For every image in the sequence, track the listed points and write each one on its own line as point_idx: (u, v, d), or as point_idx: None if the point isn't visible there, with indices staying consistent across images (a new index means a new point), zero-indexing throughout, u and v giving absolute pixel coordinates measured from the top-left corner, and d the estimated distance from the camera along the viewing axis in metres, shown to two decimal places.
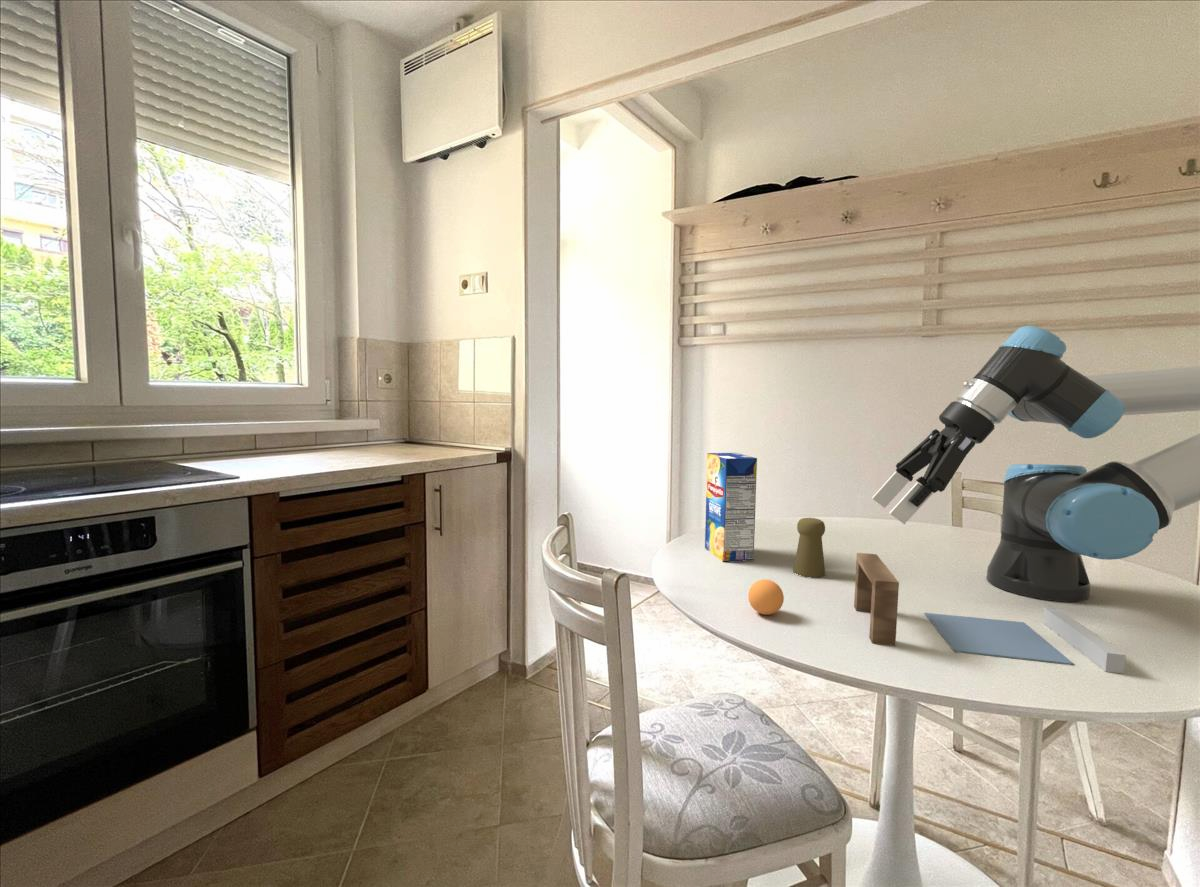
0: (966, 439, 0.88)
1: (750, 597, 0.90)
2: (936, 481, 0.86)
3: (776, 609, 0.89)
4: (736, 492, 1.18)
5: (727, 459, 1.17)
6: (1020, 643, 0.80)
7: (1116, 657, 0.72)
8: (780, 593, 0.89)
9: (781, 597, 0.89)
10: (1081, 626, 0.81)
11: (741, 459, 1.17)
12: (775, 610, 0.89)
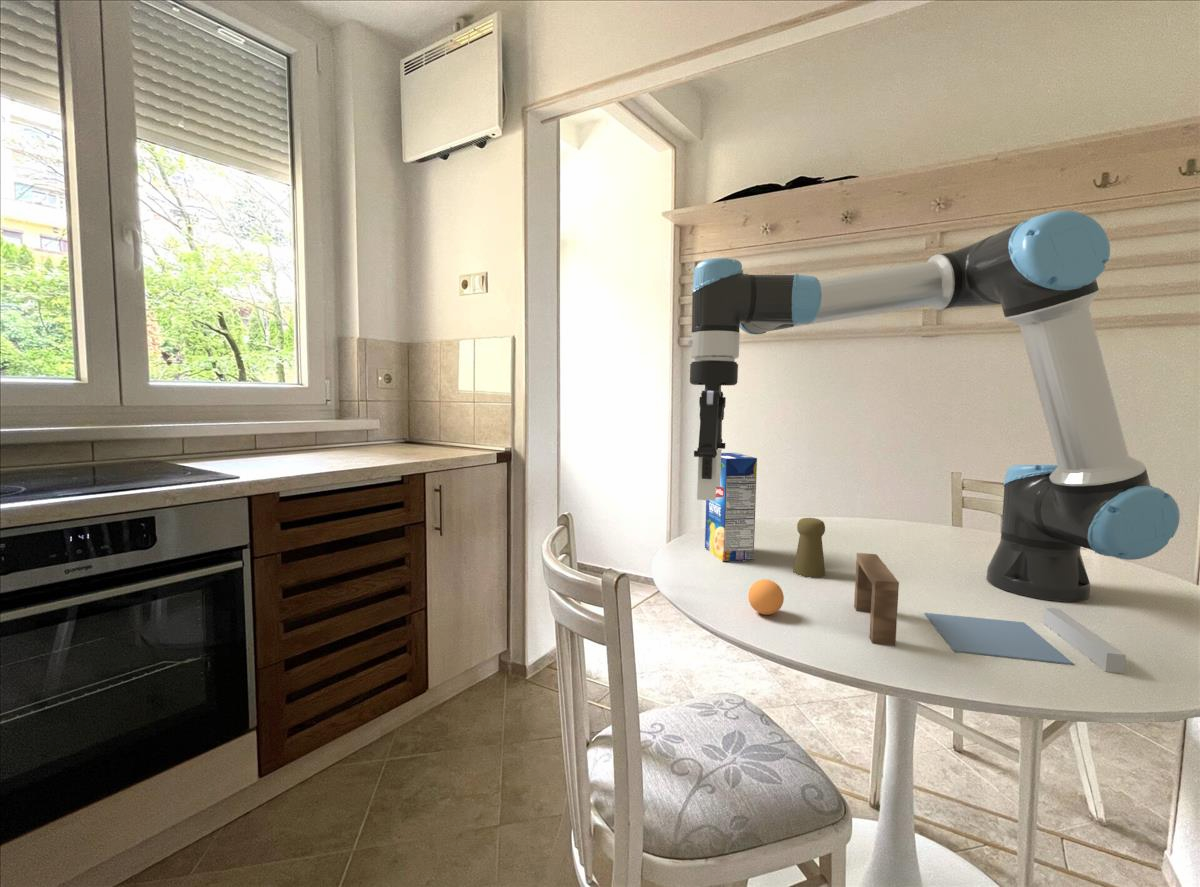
0: (708, 393, 0.84)
1: (750, 597, 0.90)
2: (703, 448, 0.82)
3: (776, 609, 0.89)
4: (736, 492, 1.18)
5: (727, 459, 1.17)
6: (1020, 643, 0.80)
7: (1116, 657, 0.72)
8: (780, 593, 0.89)
9: (781, 597, 0.89)
10: (1081, 626, 0.81)
11: (741, 459, 1.17)
12: (775, 610, 0.89)
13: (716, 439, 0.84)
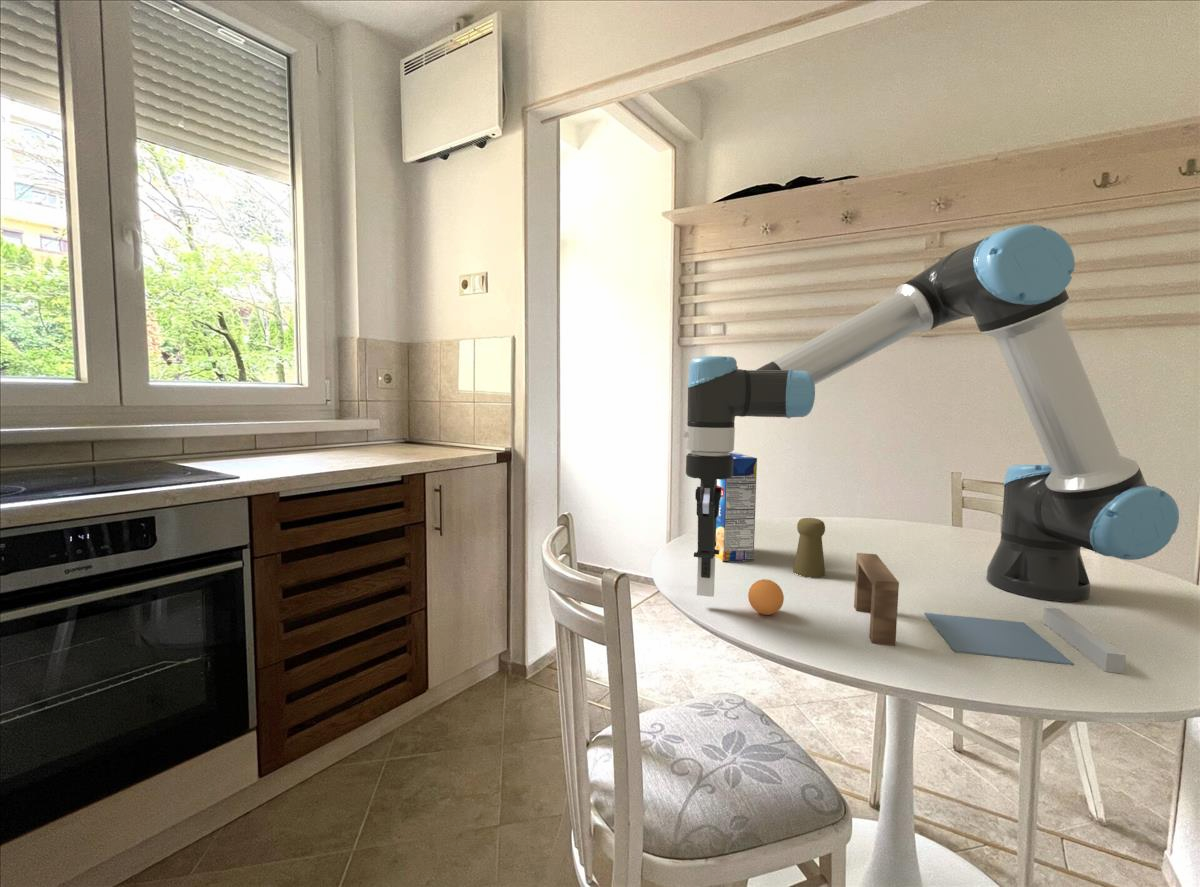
0: (703, 507, 0.86)
1: (750, 597, 0.90)
2: (702, 552, 0.89)
3: (776, 609, 0.89)
4: (736, 492, 1.18)
5: None
6: (1020, 643, 0.80)
7: (1116, 657, 0.72)
8: (780, 593, 0.89)
9: (781, 597, 0.89)
10: (1081, 626, 0.81)
11: (741, 459, 1.17)
12: (775, 610, 0.89)
13: None
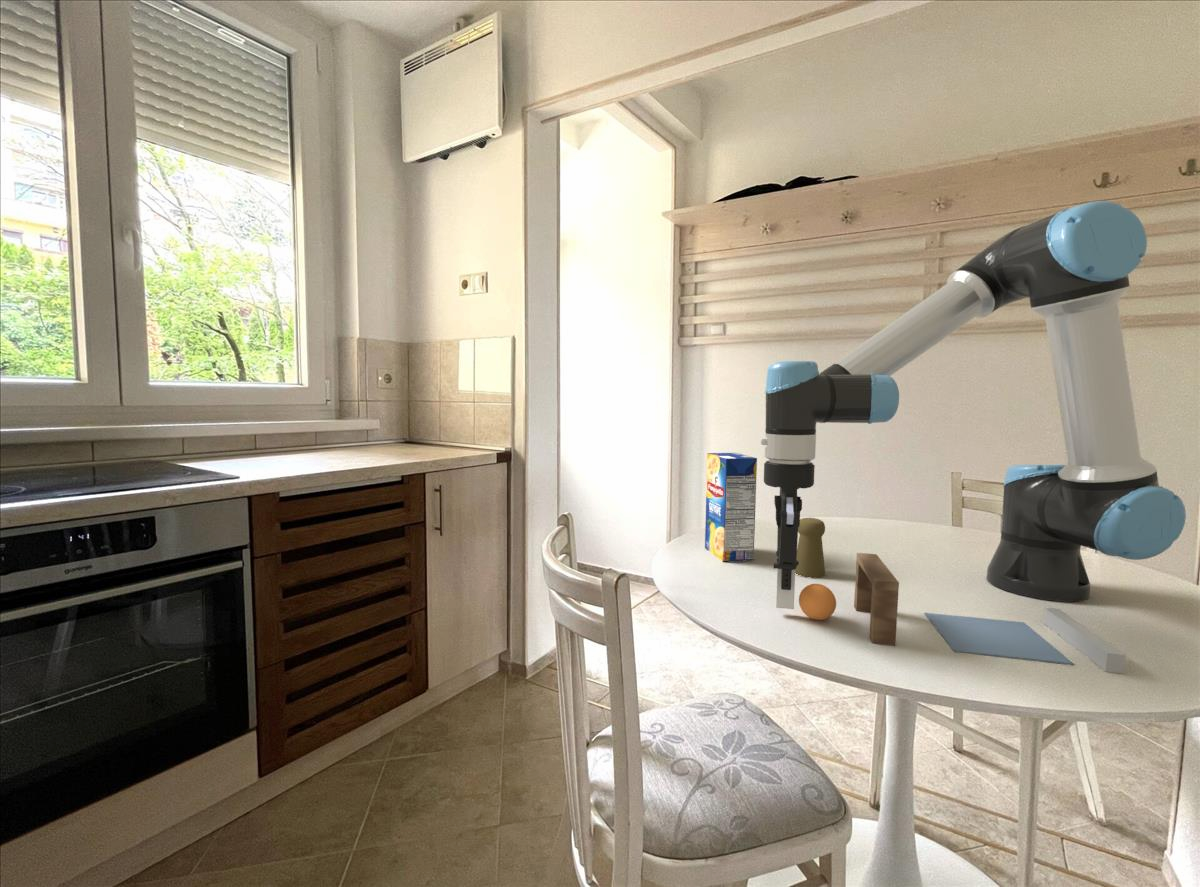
0: (788, 517, 0.83)
1: (831, 596, 0.87)
2: (784, 563, 0.86)
3: (805, 604, 0.88)
4: (736, 492, 1.18)
5: (727, 459, 1.17)
6: (1020, 643, 0.80)
7: (1116, 657, 0.72)
8: (812, 618, 0.88)
9: (808, 615, 0.88)
10: (1081, 626, 0.81)
11: (741, 459, 1.17)
12: (805, 603, 0.88)
13: None
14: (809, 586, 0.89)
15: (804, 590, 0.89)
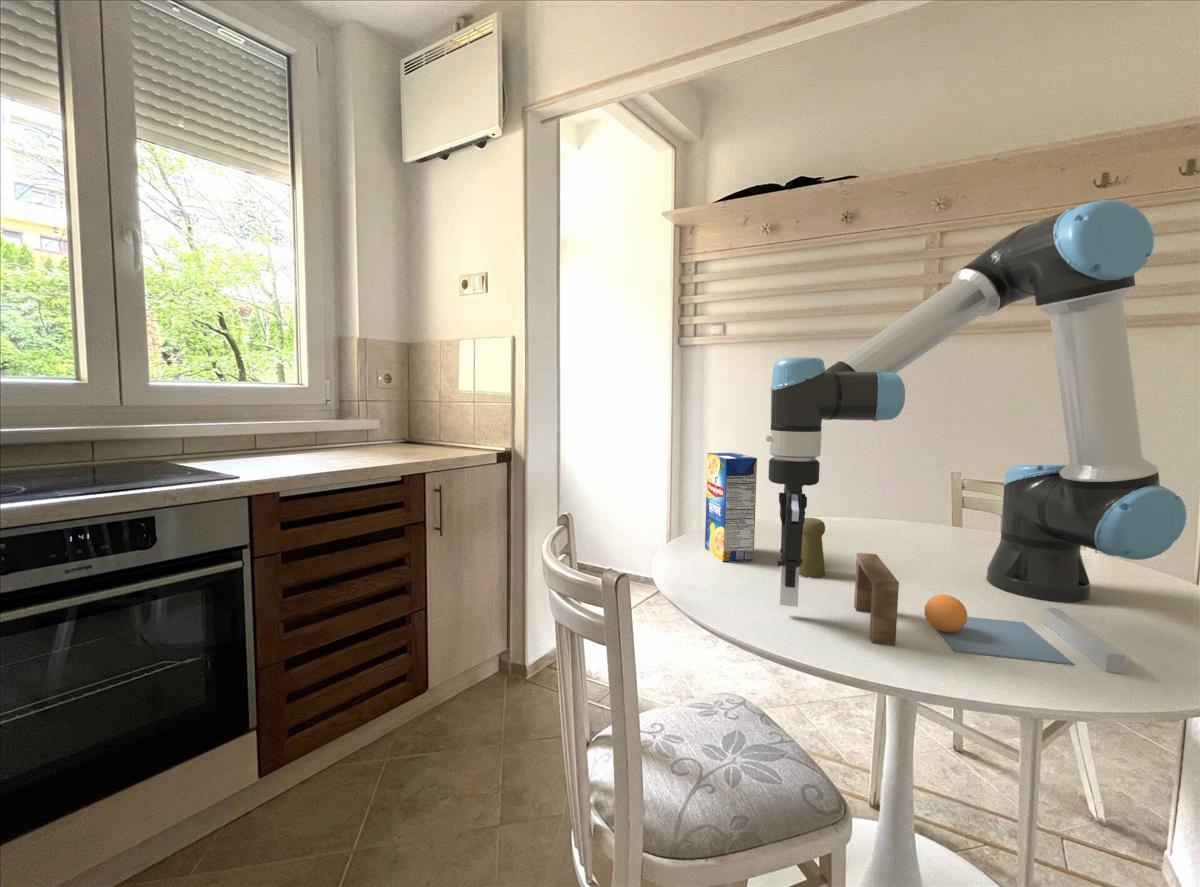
0: (793, 514, 0.83)
1: (966, 612, 0.83)
2: (789, 560, 0.86)
3: (935, 613, 0.83)
4: (736, 492, 1.18)
5: (727, 459, 1.17)
6: (1020, 643, 0.80)
7: (1116, 657, 0.72)
8: (936, 628, 0.84)
9: (933, 624, 0.84)
10: (1081, 626, 0.81)
11: (741, 459, 1.17)
12: (935, 611, 0.83)
13: None
14: (943, 596, 0.84)
15: (937, 598, 0.84)
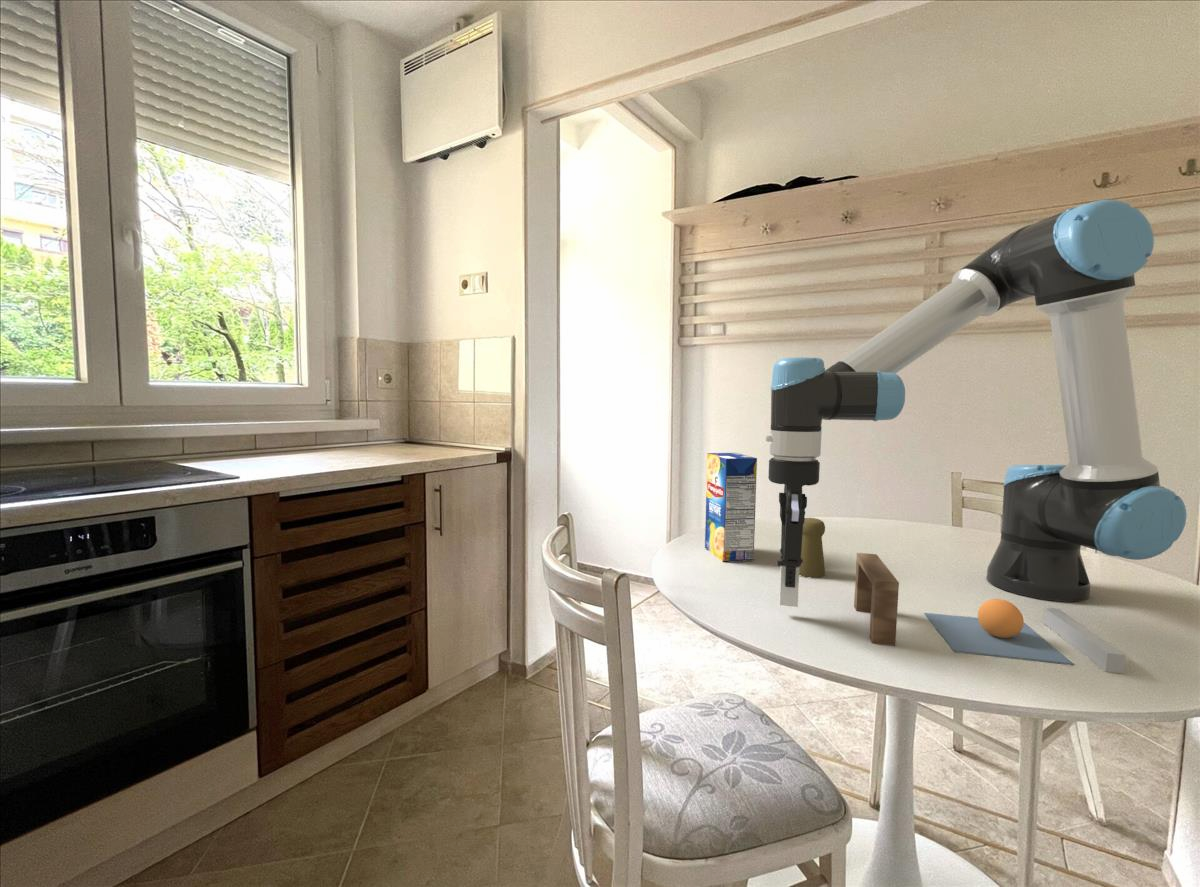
0: (793, 514, 0.83)
1: (991, 632, 0.82)
2: (789, 560, 0.86)
3: (1021, 621, 0.81)
4: (736, 492, 1.18)
5: (727, 459, 1.17)
6: (1020, 643, 0.80)
7: (1116, 657, 0.72)
8: (1008, 606, 0.81)
9: (1013, 608, 0.81)
10: (1081, 626, 0.81)
11: (741, 459, 1.17)
12: (1022, 623, 0.81)
13: None
14: None
15: None
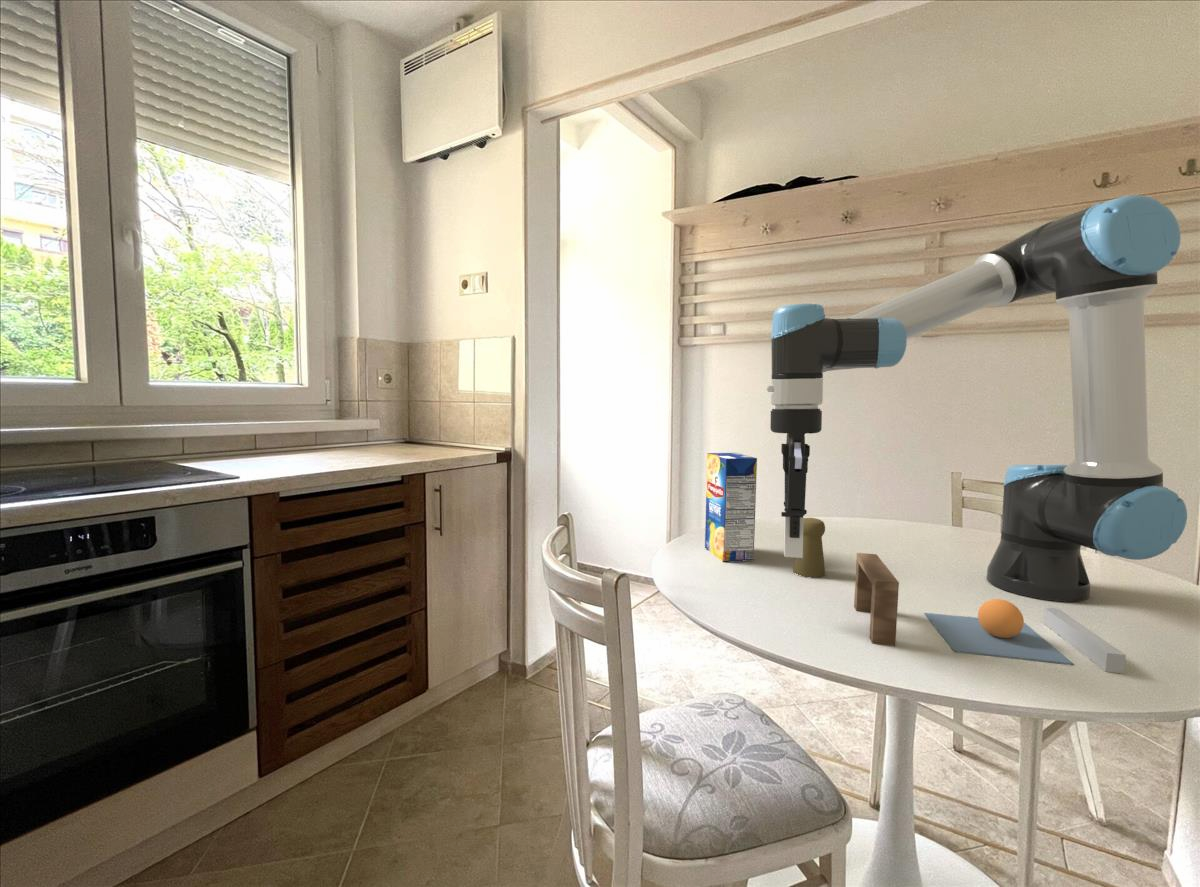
0: (796, 461, 0.82)
1: (991, 632, 0.82)
2: (793, 510, 0.85)
3: (1022, 621, 0.81)
4: (736, 492, 1.18)
5: (727, 459, 1.17)
6: (1020, 643, 0.80)
7: (1116, 657, 0.72)
8: (1008, 606, 0.81)
9: (1013, 608, 0.81)
10: (1081, 626, 0.81)
11: (741, 459, 1.17)
12: (1022, 623, 0.81)
13: None
14: None
15: None
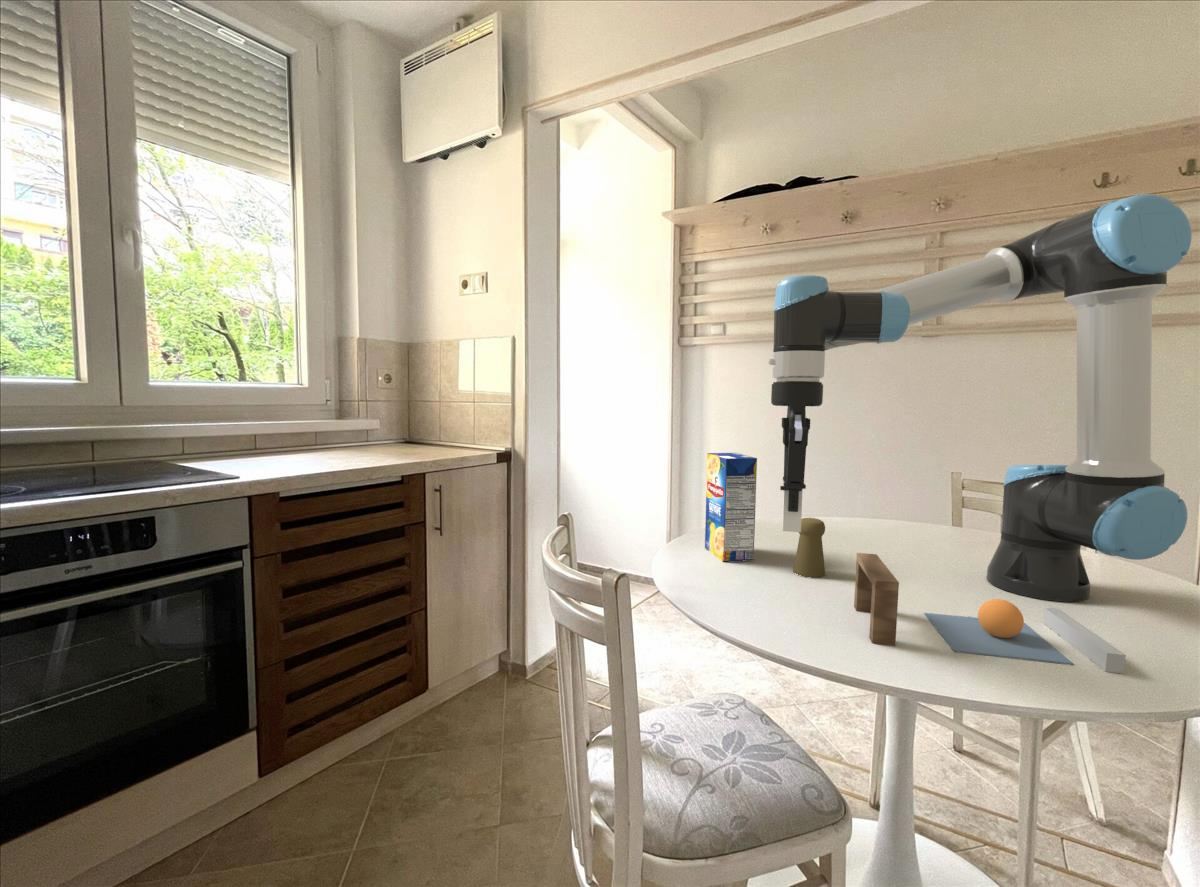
0: (797, 432, 0.82)
1: (991, 632, 0.82)
2: (792, 483, 0.85)
3: (1022, 621, 0.81)
4: (736, 492, 1.18)
5: (727, 459, 1.17)
6: (1020, 643, 0.80)
7: (1116, 657, 0.72)
8: (1008, 606, 0.81)
9: (1013, 608, 0.81)
10: (1081, 626, 0.81)
11: (741, 459, 1.17)
12: (1022, 623, 0.81)
13: None
14: None
15: None
